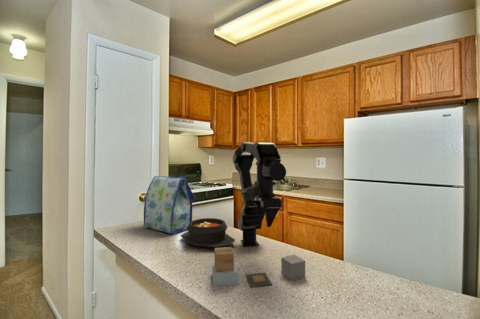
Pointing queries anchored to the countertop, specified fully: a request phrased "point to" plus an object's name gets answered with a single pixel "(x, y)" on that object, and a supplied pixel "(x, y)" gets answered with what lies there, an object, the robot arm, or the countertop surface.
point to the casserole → (207, 233)
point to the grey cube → (293, 267)
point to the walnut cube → (224, 259)
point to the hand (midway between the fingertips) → (265, 223)
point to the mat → (258, 280)
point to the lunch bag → (168, 204)
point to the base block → (225, 276)
